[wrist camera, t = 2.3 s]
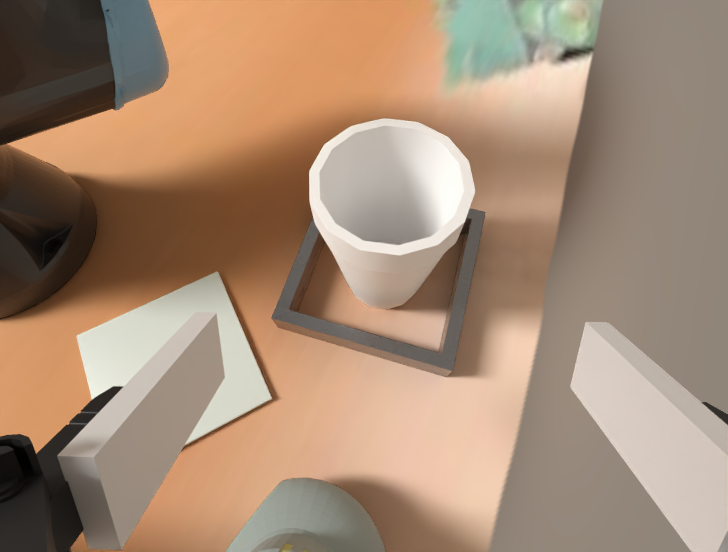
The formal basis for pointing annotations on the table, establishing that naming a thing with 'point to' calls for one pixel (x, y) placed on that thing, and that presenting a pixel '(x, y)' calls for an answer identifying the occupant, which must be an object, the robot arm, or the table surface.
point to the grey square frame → (372, 343)
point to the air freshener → (308, 521)
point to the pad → (155, 327)
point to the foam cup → (389, 205)
